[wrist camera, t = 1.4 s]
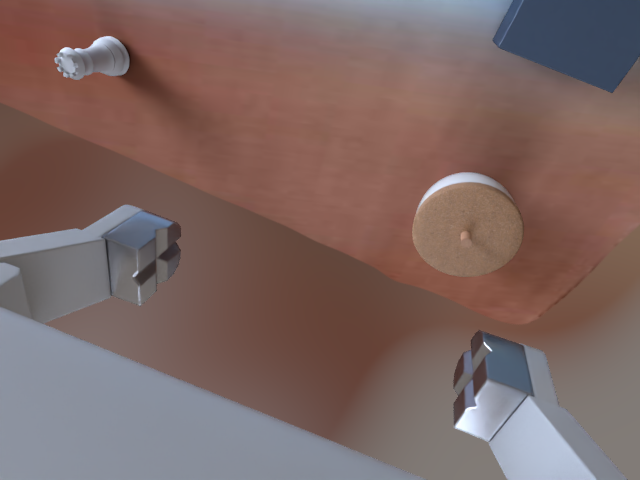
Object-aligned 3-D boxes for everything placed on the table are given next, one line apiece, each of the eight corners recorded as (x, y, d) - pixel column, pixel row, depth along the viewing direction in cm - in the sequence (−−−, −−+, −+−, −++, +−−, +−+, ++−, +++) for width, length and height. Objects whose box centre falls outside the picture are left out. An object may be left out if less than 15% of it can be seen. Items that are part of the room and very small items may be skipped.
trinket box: (521, 158, 43) (536, 194, 35) (506, 244, 48) (517, 291, 41) (418, 158, 46) (412, 191, 38) (415, 238, 51) (409, 282, 44)
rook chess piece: (126, 82, 51) (79, 95, 45) (96, 60, 51) (43, 70, 44) (136, 50, 49) (87, 59, 42) (104, 27, 48) (50, 32, 42)
